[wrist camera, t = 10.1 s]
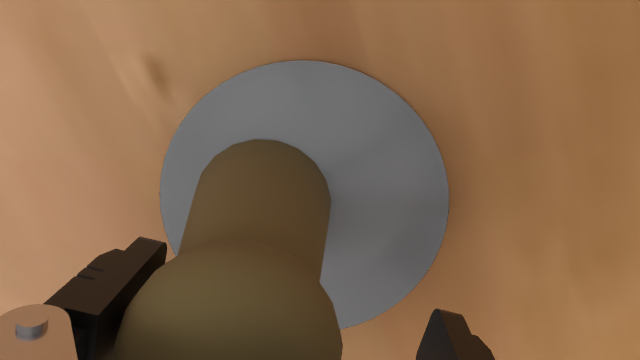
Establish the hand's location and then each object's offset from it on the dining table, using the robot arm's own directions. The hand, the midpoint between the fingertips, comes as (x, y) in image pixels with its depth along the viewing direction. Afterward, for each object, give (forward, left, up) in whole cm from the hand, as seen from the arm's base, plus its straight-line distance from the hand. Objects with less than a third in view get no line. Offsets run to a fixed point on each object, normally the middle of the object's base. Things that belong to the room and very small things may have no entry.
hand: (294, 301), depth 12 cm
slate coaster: (0, 0, -8) cm, 8 cm away
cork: (+2, 0, -7) cm, 7 cm away
